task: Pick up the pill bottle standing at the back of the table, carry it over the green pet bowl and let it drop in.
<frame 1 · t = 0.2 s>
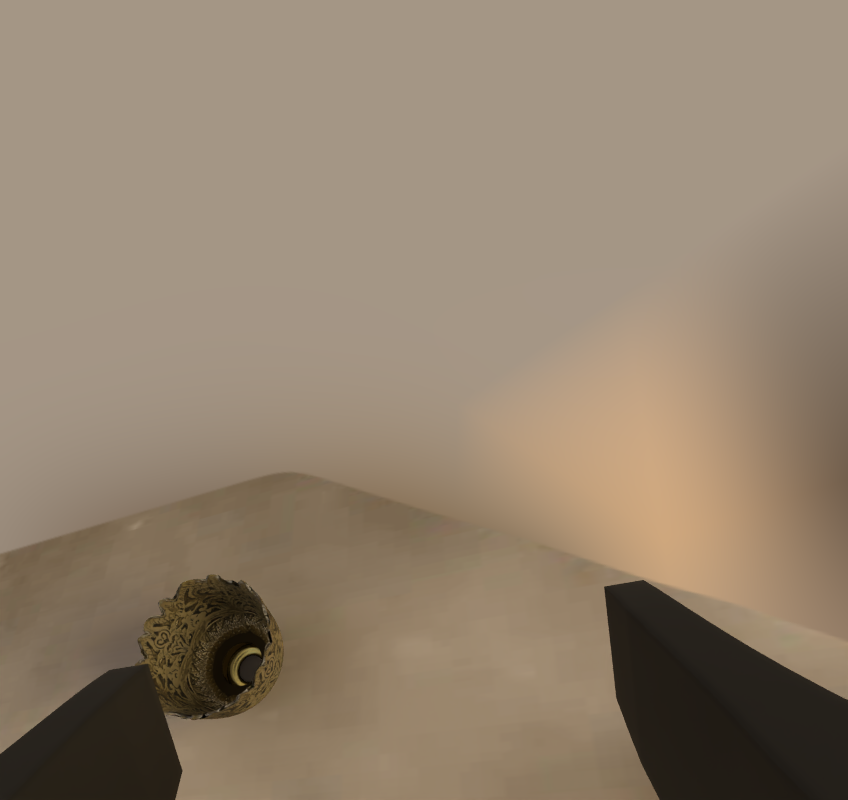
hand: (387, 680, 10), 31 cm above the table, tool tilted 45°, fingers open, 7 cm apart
cup: (252, 669, 40), on the table
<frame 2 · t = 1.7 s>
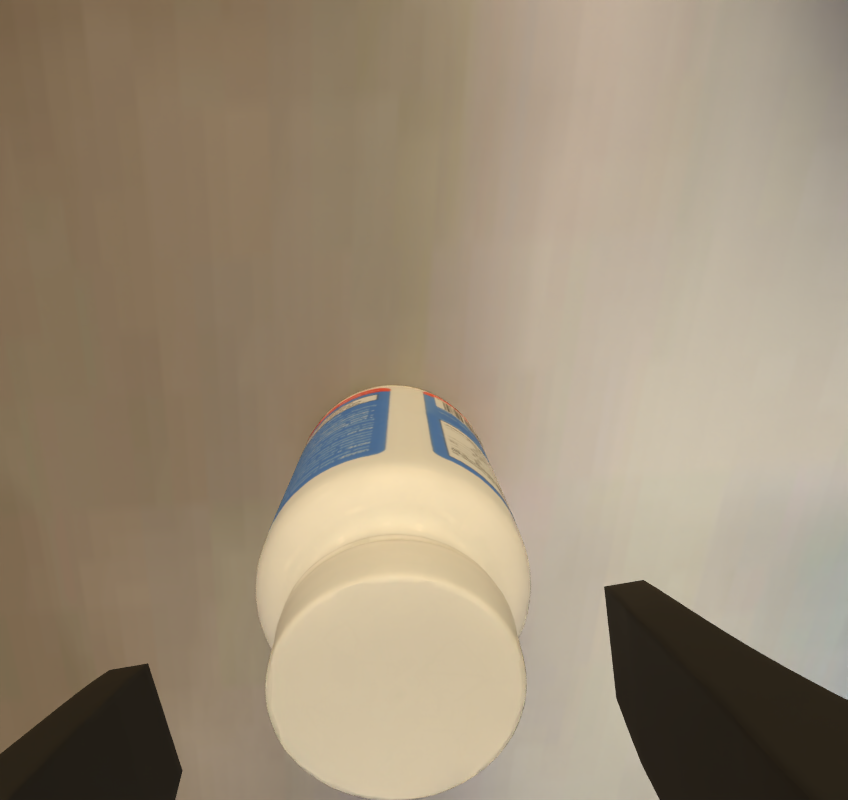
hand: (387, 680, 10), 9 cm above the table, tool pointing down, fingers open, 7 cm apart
pill bottle: (395, 467, 19), on the table
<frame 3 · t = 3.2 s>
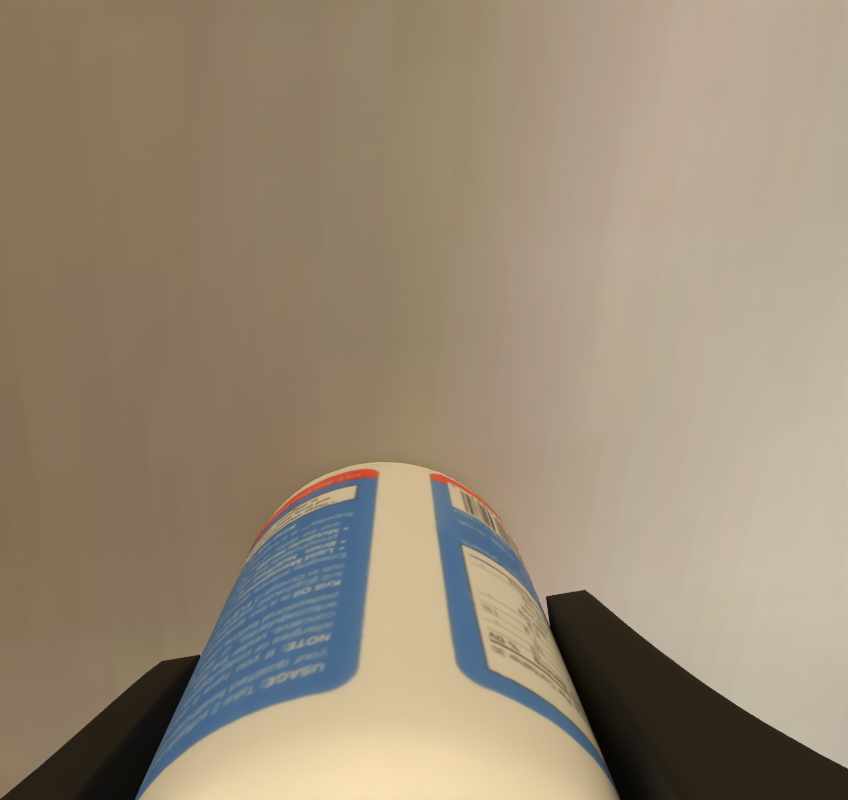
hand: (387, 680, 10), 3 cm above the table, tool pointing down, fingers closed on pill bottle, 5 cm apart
pill bottle: (388, 577, 13), on the table, touching gripper
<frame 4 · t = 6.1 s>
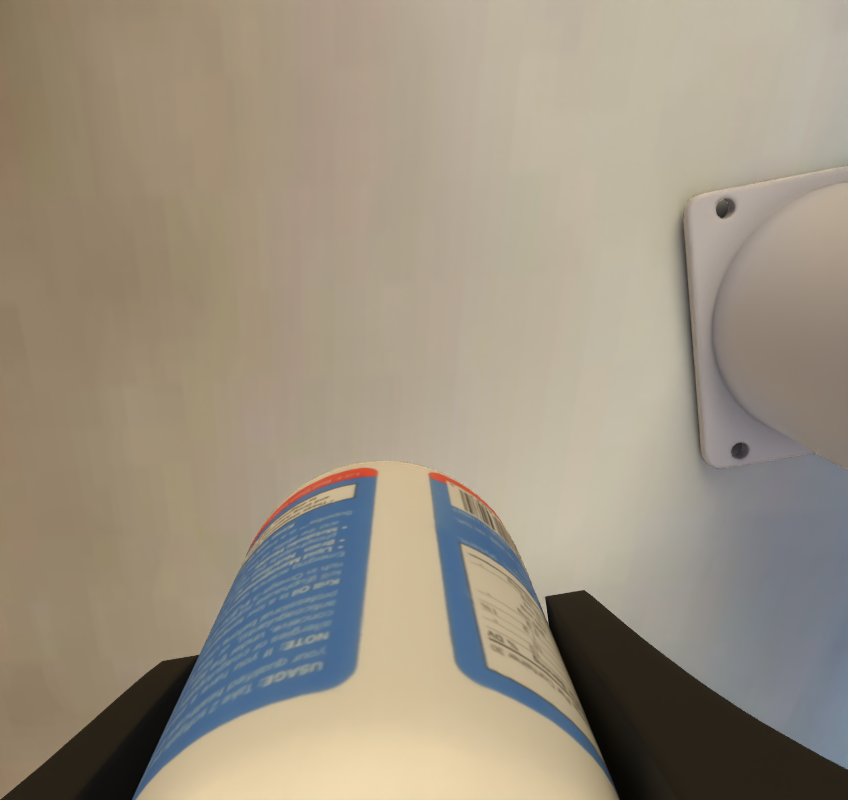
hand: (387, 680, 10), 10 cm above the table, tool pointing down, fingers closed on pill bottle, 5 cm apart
pill bottle: (387, 576, 13), point 7 cm above the table, touching gripper
when the fingers open (3 cm above the table, at t = 9.3 s): pill bottle stays where it is, resting on green pet bowl.
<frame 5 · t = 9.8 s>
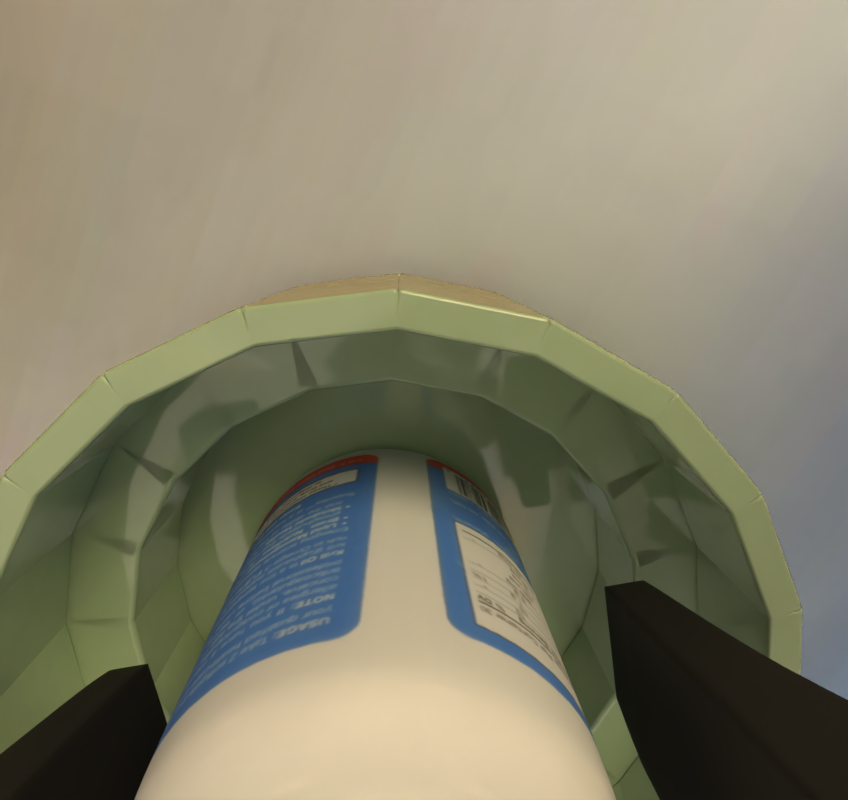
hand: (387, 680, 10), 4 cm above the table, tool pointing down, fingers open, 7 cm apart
green pet bowl: (391, 552, 14), on the table
pill bottle: (387, 559, 13), resting on green pet bowl
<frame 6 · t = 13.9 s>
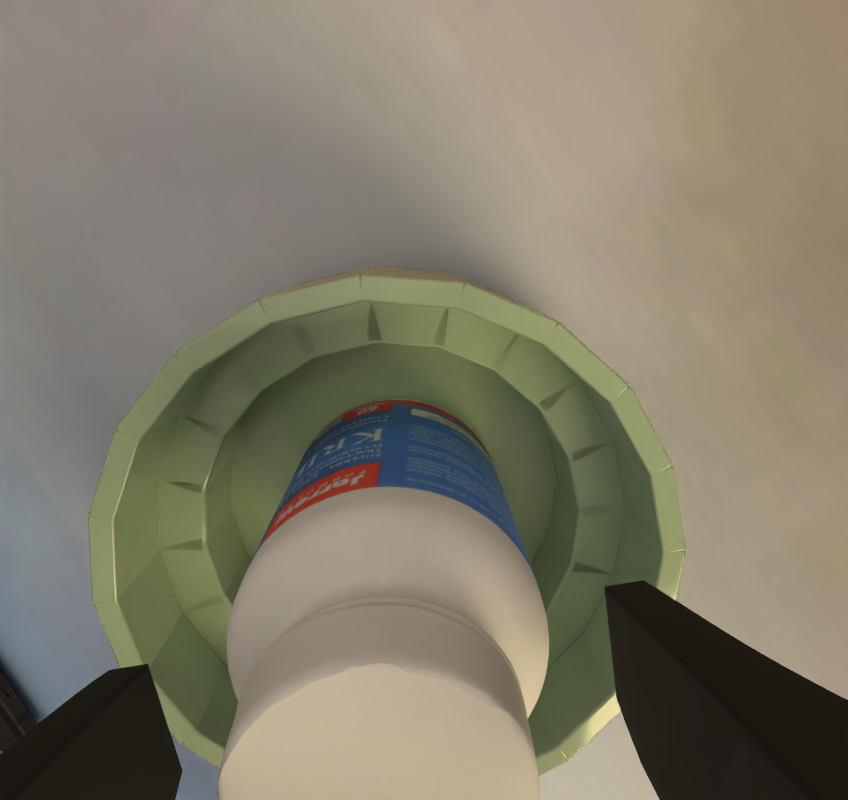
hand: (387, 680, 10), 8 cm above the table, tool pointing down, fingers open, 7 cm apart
green pet bowl: (394, 485, 18), on the table
pill bottle: (395, 487, 17), resting on green pet bowl
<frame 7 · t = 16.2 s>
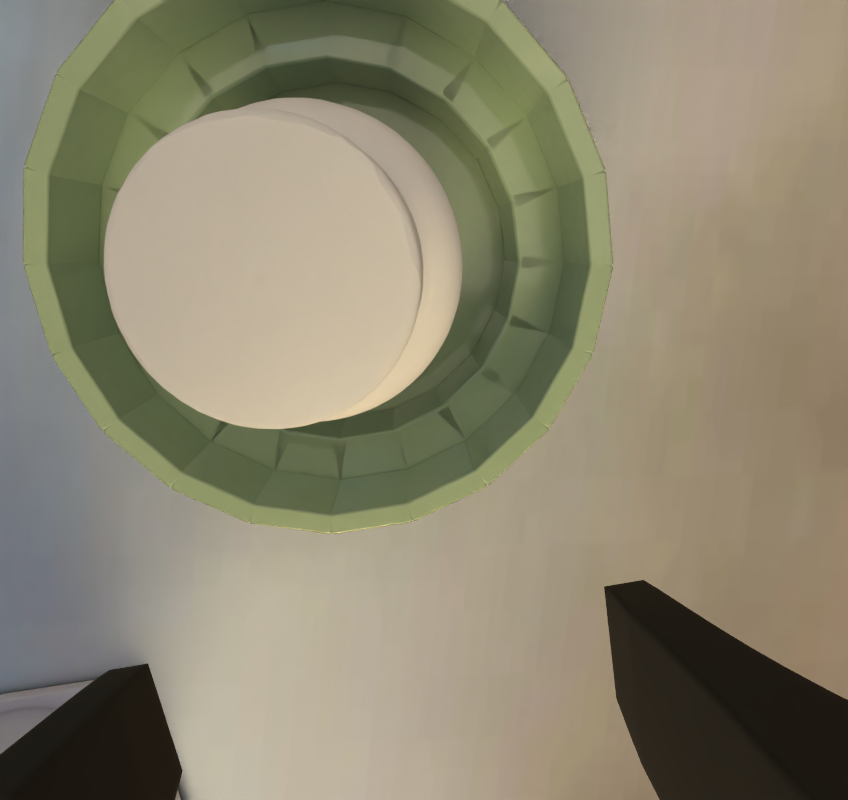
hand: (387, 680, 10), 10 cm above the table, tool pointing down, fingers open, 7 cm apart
green pet bowl: (344, 259, 18), on the table
pill bottle: (346, 258, 17), resting on green pet bowl
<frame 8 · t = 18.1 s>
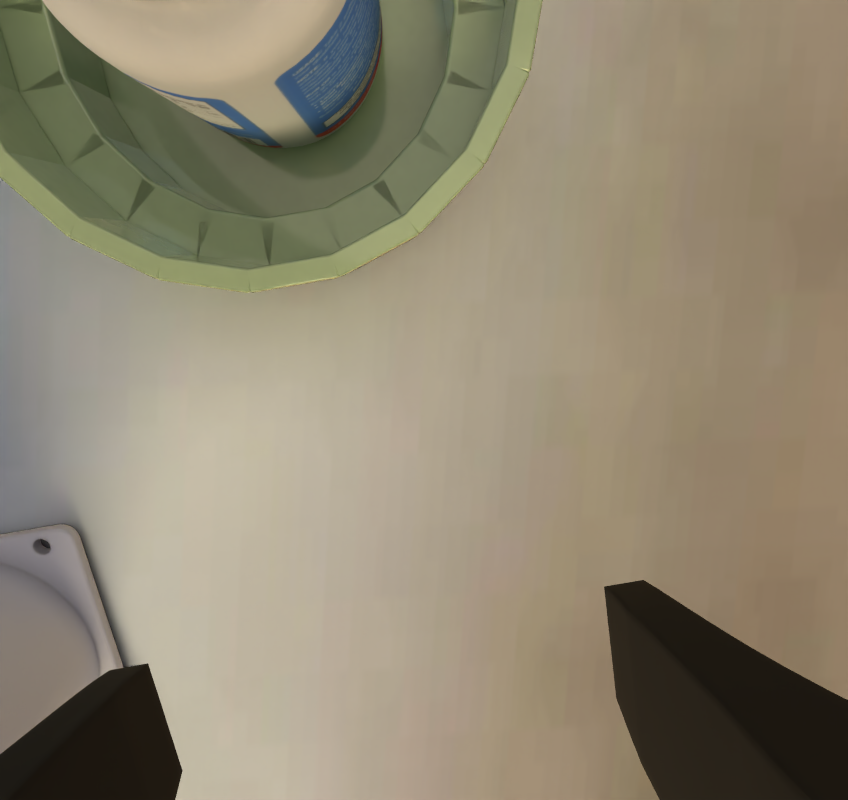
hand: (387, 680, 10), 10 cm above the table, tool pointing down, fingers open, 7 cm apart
green pet bowl: (277, 46, 16), on the table
pill bottle: (277, 41, 16), resting on green pet bowl
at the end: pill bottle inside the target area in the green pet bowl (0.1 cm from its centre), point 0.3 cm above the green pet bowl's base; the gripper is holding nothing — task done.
